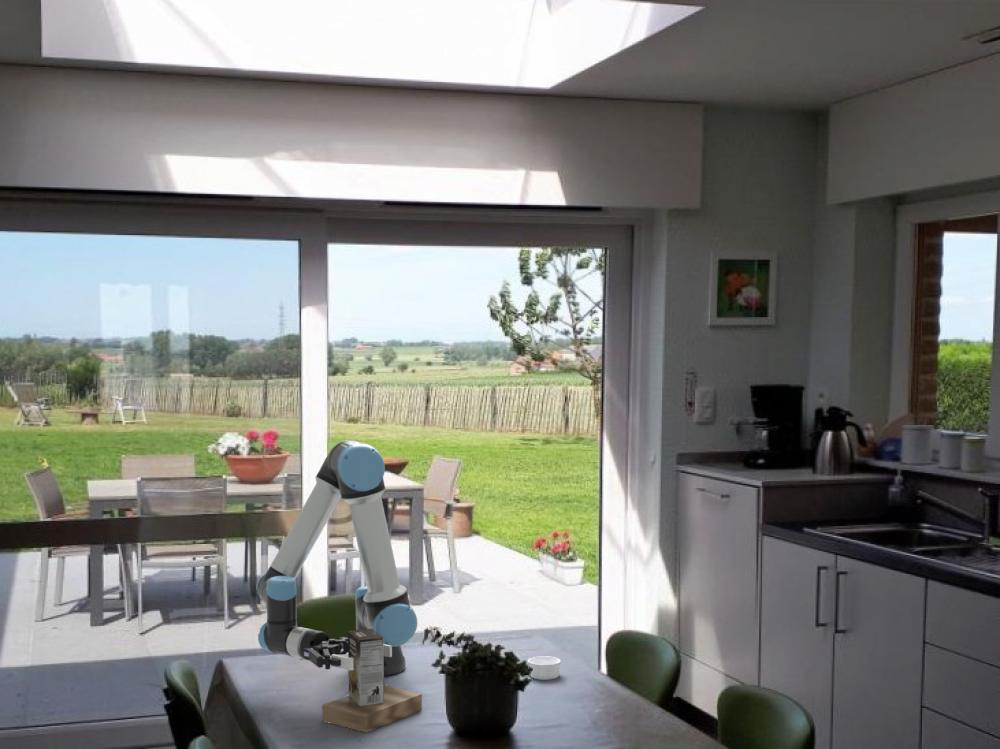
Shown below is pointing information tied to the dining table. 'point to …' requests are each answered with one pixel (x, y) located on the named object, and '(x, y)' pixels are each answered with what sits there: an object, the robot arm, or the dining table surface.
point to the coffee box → (366, 667)
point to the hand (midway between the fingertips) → (372, 657)
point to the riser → (372, 710)
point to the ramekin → (544, 667)
